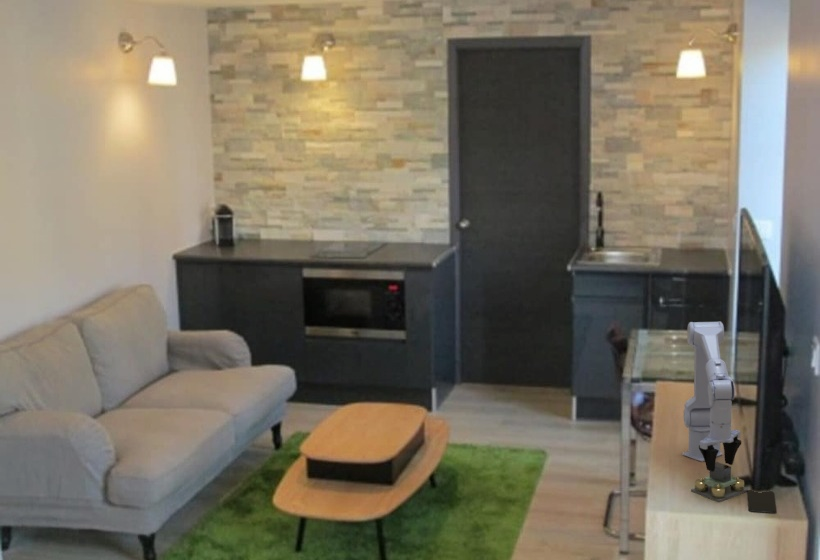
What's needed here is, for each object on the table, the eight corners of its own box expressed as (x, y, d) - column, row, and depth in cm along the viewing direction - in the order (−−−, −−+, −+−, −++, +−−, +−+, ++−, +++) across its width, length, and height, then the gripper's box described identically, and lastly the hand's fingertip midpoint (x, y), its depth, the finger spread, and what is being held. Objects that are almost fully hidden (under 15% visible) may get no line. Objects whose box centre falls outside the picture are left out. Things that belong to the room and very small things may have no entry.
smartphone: (746, 491, 310) (748, 513, 295) (747, 489, 309) (748, 510, 295) (774, 493, 308) (777, 515, 293) (774, 491, 307) (777, 512, 293)
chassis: (719, 480, 317) (720, 467, 316) (747, 491, 309) (748, 478, 308) (691, 491, 310) (691, 478, 310) (718, 502, 302) (719, 488, 301)
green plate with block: (721, 474, 314) (721, 458, 313) (740, 481, 308) (741, 465, 307) (699, 481, 309) (699, 465, 308) (719, 489, 304) (719, 473, 303)
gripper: (714, 430, 298) (713, 477, 301) (749, 419, 306) (748, 465, 309) (694, 424, 304) (693, 470, 307) (729, 412, 312) (728, 457, 315)
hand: (719, 467), depth 308 cm, fingers open, 7 cm apart
